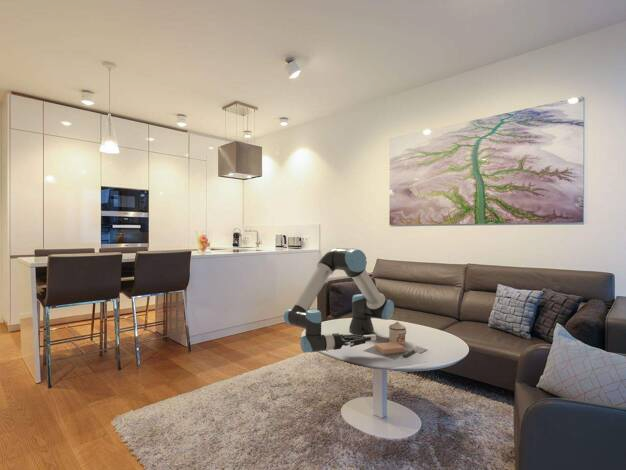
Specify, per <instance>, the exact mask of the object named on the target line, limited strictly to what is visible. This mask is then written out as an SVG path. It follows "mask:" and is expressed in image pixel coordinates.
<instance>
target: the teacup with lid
mask: <svg viewBox="0 0 626 470" xmlns="http://www.w3.org/2000/svg"><path fill="white" fill-rule="evenodd" d="M388 328H389V335H388V340H389V342H396V343H398V344H399V345H405V344H406V335H407V329H406V326H405V325H404V324H401V323H400V322H399V321H395V323H392V324H389V326H388Z"/></svg>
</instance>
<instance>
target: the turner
mask: <svg viewBox="0 0 626 470" xmlns="http://www.w3.org/2000/svg"><path fill="white" fill-rule="evenodd" d="M427 350H428V348H423V347H421V346H414V347H413V348H412V349H411V350H409V352H408V353H406V354H404V355H402V358H405V359H406V358H408V357H410V356H412V355H413V354H415V353H418V354H423V353H424V352H426V351H427Z"/></svg>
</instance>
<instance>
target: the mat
mask: <svg viewBox="0 0 626 470" xmlns="http://www.w3.org/2000/svg"><path fill="white" fill-rule="evenodd" d="M363 352H366V353H369V354H373V355H377V356H380V357H384V358H388V359H391V360H396V359H398V358H401V357H403V355H404V354H406V353H408V352H410V350H407V349H404V352H401V353H392V354H384V355H383V354H382V353H380V352H379V351H377V350H376V349H375V345H373V346H370V347H368V348H366V349H364V350H363Z"/></svg>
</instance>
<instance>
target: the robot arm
mask: <svg viewBox="0 0 626 470" xmlns="http://www.w3.org/2000/svg"><path fill="white" fill-rule="evenodd" d="M316 267H317V268H316V269H315V271H314V273H313V274H312V276H311V277H310V279H309V281H308V283H307V284H306V286H305V288H304V289H303V290H302V293H301V294H300V296H299V297H298V298H297V301H296V302H295V304H294V305H293V307H292V308H288V309H287V310H285V312H284V314H283V319H284V322H285V323H286V324H287V325H288V324H289V325H291V326H294V327H298V328H302V329H305V335H303V336H301V337H300V342H299V345H300V350H301V351H302V352H303V353H307V354H308V353H317V352H318V353H319V352H328V351H333V350H334V351H335V350H336V351H337V350H341V349H342V347H343V346H345V347H346V346H349V347H350V348H352V347H355V346H359V345H364V344H367V343H366V342H375V341H377V335H376V334H374V332H375V328H374V324H373V320H372V318H375V319H379V320H385V321H388V320H390V319H391V318H392V316H393V313H394V309H395V304H394V301H393V300H391V299H387V298H386V296H385V295H384V294H383V293H382V292H380V291H379V289H378V287H377V286H376V285H375V283H374V282H373V280H372V278H371V276H370V275H369V273H368V271H367V269H366V268H367V256H366V254H365V252H363V250H361V249H357V248H340V247H339V248H338V247H335V248H332V249H330V250H329V251H327V252H326V253H325V254H324V255H323V256H322V257H321V259H319V261H318V262H317V264H316ZM337 270H339V271H340V270H341V271H344V272H345V273H344V274H346V276H347V277H348V278H352V280H353V282H354V283H355V284H356V286H357V288H358V289H359V291H360V292H361V293H359V294H354V295H353V296H352V298H351V299H352V300H351V308H352V309H351V313H352V314H351V317H352V319H351V320H350V324H349V327H348V331H349V332H350V333H351V334H344V333H339V332H336V333H326V334H325V333H323V334H322V319H323V318H322V312H321V311H320V310H319V309H311V306H313V304H314V302H315V301H316V298H317V297H318V295H319V294H320V292H321V290H322V288H323V287H324V285H325V283H326V281H327V280H328V278H329V277H330V276H331V275H333V273H334V272H335V271H337Z"/></svg>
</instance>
